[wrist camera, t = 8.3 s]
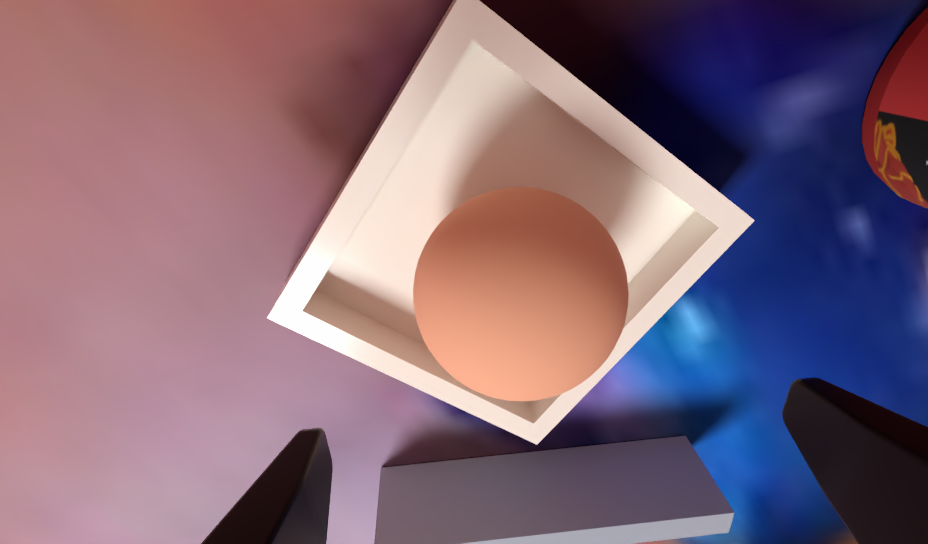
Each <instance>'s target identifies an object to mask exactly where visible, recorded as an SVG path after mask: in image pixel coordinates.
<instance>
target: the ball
mask: <svg viewBox="0 0 928 544" xmlns="http://www.w3.org/2000/svg"><path fill="white" fill-rule="evenodd" d="M628 297H629V292H628V282H627V273H626V270H625V266H624V262H623V260H622V257H621V254H620V252H619V250H618V248H617V245H616V243H615V242H614V240H613V239H612V237H611V236H610V234H609V233H608V231H607V230H606V228H605V227H604V226H603V225H602V224H601V223H600V221H599V220H598V219H597V218H596V217H595V216H593V215H592V214H591V213H590V212H588V211H587V210H586V209H585V208H583V207H582V206H581V205H579V204H578V203H576V202H574V201H573V200H571V199H569V198H567V197H564V196H562V195H559V194H557V193H554V192H551V191H547V190H543V189H539V188H530V187H511V188H504V189H498V190H494V191H490V192H487V193H484V194H481V195H479V196H476V197H474V198H472V199H470V200H469V201H467V202H465V203H463V204H462V205H460V206H459V207H457V208H456V209H455V210H453V211H452V212H451V213H450V214H448V215H447V216H446V217H445V218H444V219H443V220H442V221H441V222H440V223H439V225H438V226H437V227H436V228H435V230H434V231H433V232H432V234H431V235H430V237H429V239H428V240H427V242H426V244H425V246H424V248H423V250H422V253H421V255H420V257H419V260H418V263H417V267H416V271H415V277H414V286H413V303H414V311H415V316H416V321H417V324H418V327H419V330H420V332H421V335H422V337H423V340H424V342H425V344H426V345H427V347H428V349H429V351H430V352H431V353H432V355H433V356H434V358H435V359H436V360H437V362H438V363H439V364H440V365H441V366H442V367H443V368H444V369H445V370H446V371H447V372H448V373H449V374H450V375H451V376H452V377H454V378H455V379H456V380H458V381H459V382H460V383H462V384H463V385H465V386H467V387H468V388H470V389H472V390H474V391H476V392H479V393H481V394H484V395H486V396H489V397H493V398H496V399H501V400H508V401H535V400H542V399H546V398H550V397H554V396H557V395H559V394H562V393H564V392H566V391H569V390H571V389H573V388H574V387H576V386H578V385H579V384H581V383H582V382H584V381H585V380H586V379H588V378H589V377H590V376H591V375H592V374H593V373H595V372H596V371H597V370H598V369H599V368H600V367H601V366H602V364H603V363H604V362H605V361H606V360H607V359H608V357H609V356H610V354H611V352H612V351H613V349H614V347H615V345H616V343H617V341H618V339H619V337H620V335H621V333H622V330H623V327H624V324H625V320H626V314H627V309H628Z"/></svg>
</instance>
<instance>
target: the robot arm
mask: <svg viewBox="0 0 928 544" xmlns="http://www.w3.org/2000/svg"><path fill="white" fill-rule="evenodd" d="M782 416H783V420H784V423H785V425H786V427H787V429H788V431H789V432H790V434H791V436H792V438H793V439H794V441H795V443H796V445H797V446H798V448H799V450H800V452H801V454H802V455H803V457H804V459H805V461H806V462H807V464H808V466H809V468H810V469H811V471H812V473H813V475H814V477H815V478H816V480H817V482H818V484H819V485H820V487H821V489H822V490H823V492H824V494H825V495H826V497H827V499H828V500H829V502H830V503H831V505H832V506H833V508H834V509H835V511H836V512H837V514H838V515H839V516H840V518H841V519H842V521H843V522H844V524H845V525H846V526H847V528H848V529H849V531H850V532H851V534H852V535H853V537H854V538H855V539H856V541H857V542H858V544H928V427H926V426H924V425H921V424H919V423H917V422H915V421H913V420H910V419H908V418H906V417H904V416H901V415H899V414H897V413H895V412H893V411H890V410H888V409H886V408H884V407H882V406H879V405H877V404H875V403H873V402H871V401H868V400H866V399H864V398H862V397H859V396H857V395H855V394H853V393H851V392H848V391H846V390H844V389H842V388H840V387H837V386H835V385H833V384H831V383H828V382H826V381H824V380H822V379H819V378H804V379H797V380H794V381H793V382H792V383H791V386H790V389H789V392H788V395H787V398H786V401H785V404H784V407H783V411H782ZM331 481H332V458H331V454H330V450H329V447H328V443H327V439H326V435H325V432H324V430H323V429H321V428H313V429H303V430H301V431H299V432H298V433H297V434H296V435H295V436H294V437H293V438H292V440H291V441H290V442H289V443H288V444H287V445H286V447H285V448H284V449H283V450H282V451H281V452H280V453H279V455H278V456H277V457H276V458H275V459H274V460H273V462H272V463H271V464H270V465H269V466H268V467H267V468H266V470H265V471H264V472H263V473H262V474H261V475H260V476H259V478H258V479H257V480H256V481H255V482H254V483H253V485H252V486H251V487H250V488H249V489H248V490H247V491H246V493H245V494H244V495H243V496H242V497H241V498H240V499H239V501H238V502H237V503H236V504H235V505H234V506H233V508H232V509H231V510H230V511H229V512H228V513H227V514H226V516H225V517H224V518H223V519H222V520H221V521H220V522H219V524H218V525H217V526H216V527H215V528H214V529H213V531H212V532H211V533H210V534H209V535H208V536H207V537H206V539H205V540H204V541H203V542H202V543H201V544H326V539H327V527H328V516H329V504H330V493H331Z"/></svg>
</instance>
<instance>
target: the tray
mask: <svg viewBox="0 0 928 544" xmlns="http://www.w3.org/2000/svg"><path fill="white" fill-rule="evenodd" d="M511 187H530V188H539V189H543V190H547V191H551V192H554V193H557V194H559V195H562V196H564V197H567V198H569V199H571V200H573V201H574V202H576V203H578V204H579V205H581V206H582V207H583V208H585V209H586V210H587V211H588V212H590V213H591V214H592V215H593V216H595V217H596V218H597V219H598V220H599V221H600V223H601V224H602V225H603V226H604V227H605V228H606V230H607V231H608V233H609V234H610V236H611V237H612V239H613V240H614V242H615V243H616V245H617V248H618V250H619V252H620V254H621V257H622V260H623V262H624V266H625V270H626V273H627V282H628V292H629V297H628V309H627V314H626V320H625V324H624V327H623V330H622V333H621V335H620V337H619V339H618V341H617V343H616V345H615V347H614V349H613V351H612V352H611V354H610V356H609V357H608V359H607V360H606V361H605V362H604V363H603V364H602V366H601V367H600V368H599V369H598V370H597V371H596V372H595V373H593V374H592V375H591V376H590V377H589V378H588V379H586V380H585V381H584V382H582V383H581V384H579V385H578V386H576V387H574V388H573V389H571V390H569V391H566V392H564V393H562V394H559V395H557V396H554V397H550V398H546V399H542V400H535V401H508V400H501V399H496V398H493V397H489V396H486V395H484V394H481V393H479V392H476V391H474V390H472V389H470V388H468V387H467V386H465V385H463V384H462V383H460V382H459V381H458V380H456V379H455V378H454V377H452V376H451V375H450V374H449V373H448V372H447V371H446V370H445V369H444V368H443V367H442V366H441V365H440V364H439V363H438V362H437V360H436V359H435V358H434V356H433V355H432V353H431V352H430V351H429V349H428V347H427V345H426V344H425V342H424V340H423V337H422V335H421V332H420V330H419V327H418V324H417V321H416V316H415V311H414V303H413V286H414V277H415V271H416V267H417V263H418V260H419V257H420V255H421V253H422V250H423V248H424V246H425V244H426V242H427V240H428V239H429V237H430V235H431V234H432V232H433V231H434V230H435V228H436V227H437V226H438V225H439V223H440V222H441V221H442V220H443V219H444V218H445V217H446V216H447V215H448V214H450V213H451V212H452V211H453V210H455V209H456V208H457V207H459V206H460V205H462V204H463V203H465V202H467V201H469V200H470V199H472V198H474V197H476V196H479V195H481V194H484V193H487V192H490V191H494V190H498V189H504V188H511ZM754 221H755V220H753V219H752V218H751V217H750V216H748V215H747V214H746V213H745V212H743V211H742V210H741V209H740V208H738V207H737V206H736V205H735V204H733V203H732V202H731V201H730V200H728V199H727V198H726V197H725V196H723V195H722V194H721V193H720V192H718V191H717V190H716V189H715V188H713V187H712V186H711V185H710V184H708V183H707V182H706V181H705V180H703V179H702V178H701V177H700V176H698V175H697V174H696V173H695V172H693V171H692V170H691V169H690V168H688V167H687V166H686V165H685V164H683V163H682V162H681V161H680V160H678V159H677V158H676V157H675V156H673V155H672V154H671V153H670V152H668V151H667V150H666V149H665V148H663V147H662V146H661V145H660V144H658V143H657V142H656V141H655V140H653V139H652V138H651V137H650V136H648V135H647V134H646V133H645V132H643V131H642V130H641V129H640V128H638V127H637V126H636V125H635V124H633V123H632V122H631V121H630V120H628V119H627V118H626V117H625V116H623V115H622V114H621V113H620V112H618V111H617V110H616V109H615V108H613V107H612V106H611V105H610V104H608V103H607V102H606V101H605V100H603V99H602V98H601V97H600V96H598V95H597V94H596V93H595V92H593V91H592V90H591V89H590V88H588V87H587V86H586V85H585V84H583V83H582V82H581V81H580V80H578V79H577V78H576V77H575V76H573V75H572V74H571V73H570V72H568V71H567V70H566V69H565V68H563V67H562V66H561V65H560V64H558V63H557V62H556V61H555V60H553V59H552V58H551V57H550V56H548V55H547V54H546V53H545V52H543V51H542V50H541V49H540V48H538V47H537V46H536V45H535V44H533V43H532V42H531V41H530V40H528V39H527V38H526V37H525V36H523V35H522V34H521V33H520V32H518V31H517V30H516V29H515V28H513V27H512V26H511V25H510V24H508V23H507V22H506V21H505V20H503V19H502V18H501V17H500V16H498V15H497V14H496V13H495V12H493V11H492V10H491V9H490V8H488V7H487V6H486V5H485V4H483V3H482V2H481V1H480V0H453V1H452V3H451V5H450V6H449V8H448V10H447V11H446V13H445V15H444V16H443V18H442V20H441V21H440V23H439V25H438V27H437V28H436V30H435V32H434V33H433V35H432V37H431V38H430V40H429V42H428V43H427V45H426V47H425V48H424V50H423V52H422V53H421V55H420V57H419V59H418V60H417V62H416V64H415V65H414V67H413V69H412V70H411V72H410V74H409V75H408V77H407V79H406V80H405V82H404V84H403V85H402V87H401V89H400V90H399V92H398V94H397V96H396V97H395V99H394V101H393V102H392V104H391V106H390V107H389V109H388V111H387V112H386V114H385V116H384V117H383V119H382V121H381V122H380V124H379V126H378V127H377V129H376V131H375V133H374V134H373V136H372V138H371V139H370V141H369V143H368V144H367V146H366V148H365V149H364V151H363V153H362V154H361V156H360V158H359V159H358V161H357V163H356V165H355V166H354V168H353V170H352V171H351V173H350V175H349V176H348V178H347V180H346V181H345V183H344V185H343V186H342V188H341V190H340V191H339V193H338V195H337V196H336V198H335V200H334V202H333V203H332V205H331V207H330V208H329V210H328V212H327V213H326V215H325V217H324V218H323V220H322V222H321V223H320V225H319V227H318V228H317V230H316V232H315V233H314V235H313V237H312V239H311V240H310V242H309V244H308V245H307V247H306V249H305V250H304V252H303V254H302V255H301V257H300V259H299V260H298V262H297V264H296V265H295V267H294V269H293V271H292V272H291V274H290V276H289V277H288V279H287V281H286V282H285V284H284V286H283V288H282V290H281V292H280V294H279V296H278V298H277V300H276V302H275V304H274V306H273V308H272V310H271V311H270V313H269V315H268V317H267V318H268V319H270V320H272V321H274V322H276V323H279V324H281V325H283V326H285V327H287V328H289V329H291V330H294V331H296V332H298V333H300V334H302V335H304V336H306V337H308V338H311V339H313V340H315V341H317V342H319V343H321V344H323V345H325V346H328V347H330V348H332V349H334V350H336V351H338V352H340V353H342V354H345V355H347V356H349V357H351V358H353V359H355V360H357V361H359V362H362V363H364V364H366V365H368V366H370V367H372V368H374V369H377V370H379V371H381V372H383V373H385V374H387V375H389V376H391V377H394V378H396V379H398V380H400V381H402V382H404V383H406V384H408V385H411V386H413V387H415V388H417V389H419V390H421V391H423V392H425V393H428V394H430V395H432V396H434V397H436V398H438V399H440V400H442V401H445V402H447V403H449V404H451V405H453V406H455V407H457V408H460V409H462V410H464V411H466V412H468V413H470V414H472V415H474V416H477V417H479V418H481V419H483V420H485V421H487V422H489V423H491V424H494V425H496V426H498V427H500V428H502V429H504V430H506V431H508V432H511V433H513V434H515V435H517V436H519V437H521V438H523V439H525V440H528V441H530V442H532V443H534V444H536V445H537V444H538V443H539V442H540V441H541V440H542V439H543V438H544V437H545V436H546V435H547V434H548V433H549V432H550V431H551V430H552V429H553V428H554V427H555V426H556V425H557V424H558V423H559V422H560V421H561V420H562V419H563V418H564V417H565V416H566V415H567V414H568V412H569V411H570V410H571V409H572V408H573V407H574V406H575V405H576V404H577V403H578V402H579V401H580V400H581V399H582V398H583V397H584V396H585V395H586V394H587V393H588V392H589V391H590V390H591V389H592V388H593V387H594V386H595V385H596V384H597V383H598V382H599V381H600V379H601V378H602V377H603V376H604V375H605V374H606V373H607V372H608V371H609V370H610V369H611V368H612V367H613V366H614V365H615V364H616V363H617V362H618V361H619V360H620V359H621V358H622V357H623V356H624V355H625V354H626V353H627V352H628V351H629V350H630V349H631V348H632V346H633V345H634V344H635V343H636V342H637V341H638V340H639V339H640V338H641V337H642V336H643V335H644V334H645V333H646V332H647V331H648V330H649V329H650V328H651V327H652V326H653V325H654V324H655V323H656V322H657V321H658V320H659V319H660V318H661V317H662V316H663V315H664V314H665V312H666V311H667V310H668V309H669V308H670V307H671V306H672V305H673V304H674V303H675V302H676V301H677V300H678V299H679V298H680V297H681V296H682V295H683V294H684V293H685V292H686V291H687V290H688V289H689V288H690V287H691V286H692V285H693V284H694V283H695V282H696V281H697V279H698V278H699V277H700V276H701V275H702V274H703V273H704V272H705V271H706V270H707V269H708V268H709V267H710V266H711V265H712V264H713V263H714V262H715V261H716V260H717V259H718V258H719V257H720V256H721V255H722V254H723V253H724V252H725V251H726V250H727V249H728V248H729V247H730V245H731V244H732V243H733V242H734V241H735V240H736V239H737V238H738V237H739V236H740V235H741V234H742V233H743V232H744V231H745V230H746V229H747V228H748V227H749V226H750V225H751V224H752V223H753V222H754Z"/></svg>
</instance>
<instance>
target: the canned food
mask: <svg viewBox="0 0 928 544" xmlns="http://www.w3.org/2000/svg"><path fill="white" fill-rule="evenodd" d="M862 143H863V147H864V152H865V156H866V159H867V161H868V163H869V165H870V167H871V168H872V170H873V172H874V173H875V174H876V175H877V176H878V177H879V178H880V179H881V180H882V181H883V182H884V183H885V184H886V185H888V186H889V187H890V188H891V189H892V190H893V191H894V192H895V193H896V194H897V195H898V196H900V197H902V198H904V199H906V200H908V201H910V202H912V203H915V204H917V205H920V206H922V207H925V208H928V7H927V8H926V9H925V10H924V11H923V12H922V13H921V14H920V15H919V16H918V17H917V18H916V19H915V20H914V22H913V23H912V24H911V25H910V26H909V27H908V28H907V29H906V30H905V32H904V33H903V35H902V36H901V37H900V39H899V40H898V41H897V43H896V44H895V45H894V47H893V48H892V49H891V51H890V52H889V54H888V56H887V58H886V59H885V61H884V63H883V65H882V67H881V68H880V70H879V72H878V74H877V76H876V78H875V80H874V83H873V86H872V88H871V91H870V94H869V96H868V99H867V102H866V107H865V112H864V117H863V122H862Z"/></svg>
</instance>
